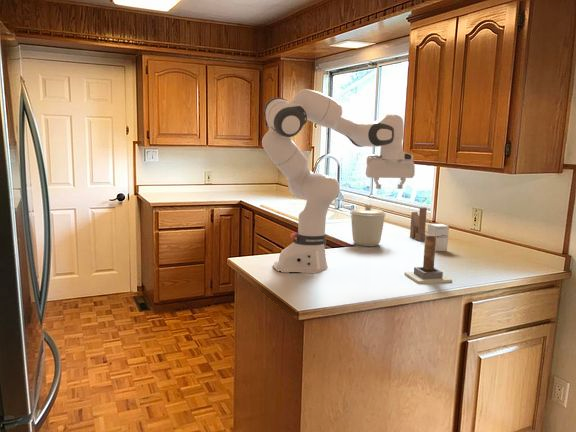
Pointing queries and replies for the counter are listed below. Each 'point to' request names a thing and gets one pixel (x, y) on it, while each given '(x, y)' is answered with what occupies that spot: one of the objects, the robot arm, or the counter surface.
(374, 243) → the canister
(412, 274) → the dowel holder
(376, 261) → the counter surface
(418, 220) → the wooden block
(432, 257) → the walnut dowel
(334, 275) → the counter surface
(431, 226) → the supplement box
